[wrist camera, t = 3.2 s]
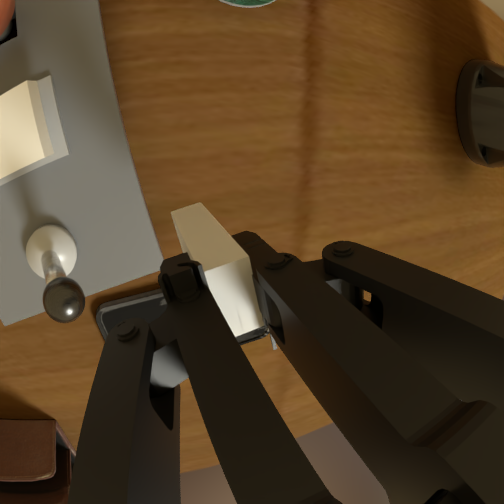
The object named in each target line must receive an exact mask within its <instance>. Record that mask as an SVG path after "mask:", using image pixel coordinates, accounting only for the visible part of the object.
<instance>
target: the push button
mask: <svg viewBox="0 0 504 504" xmlns="http://www.w3.org/2000/svg"><path fill="white" fill-rule="evenodd" d="M14 9H15V0H0V42H2V41H4V40H5V39H6V38H7V37H8V36H9V34H10V32H11V30H12V27H13V23H12V20H11V19H12V16H13V13H14Z"/></svg>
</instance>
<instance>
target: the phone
mask: <svg viewBox="0 0 504 504" xmlns="http://www.w3.org/2000/svg"><path fill="white" fill-rule="evenodd" d="M166 309H167V302H166V300H165V297H164V295H163V292H162V290H161V288H160V289H157V290H153V291H149V292H145V293H141V294H137V295H133V296H129V297H125V298H122V299H118V300H114V301H110V302H106V303H103V304H101V305H100V306H99V307H98V309H97V312H96V321H97V324H98V326H99V329H100V331H101V333H102V335H103V338H104V340H105V341H106V338H107V336H108V334H109V332H110V330H111V329H112V328H113V327H114V326H115V325H117V324H118V323H120V322H122V321H124V320H127V319H130V318H141V319H145V320H146V321H147V322H148V324H149V323H150V322H152V321H154V320H155V319H157V318H158V317H160V316H161V315H162V314H163V313H164V312H165V310H166ZM262 318H263V322H264V326H262V327H259V328H257V329H254V330H252V331H249V332H247V333H244V334H242V335H239V336H237V337H236V339H237V341H238V343H239V345H243V344H246V343H249V342H252V341H255V340H258V339H261V338H263V337H265V336H266V335H268V334H269V328H268V323H267V320H266V319H265V318H264V316H263V315H262Z"/></svg>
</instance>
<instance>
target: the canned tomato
mask: <svg viewBox="0 0 504 504" xmlns="http://www.w3.org/2000/svg"><path fill="white" fill-rule="evenodd" d="M219 1H221V2H223V3H226V4H229V5H232V6H237V7H247V8H252V7H260V6H264V5H267V4H270V3H272V2H273V1H275V0H219Z"/></svg>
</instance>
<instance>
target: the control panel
mask: <svg viewBox="0 0 504 504" xmlns="http://www.w3.org/2000/svg"><path fill="white" fill-rule="evenodd" d="M14 19H16V24H17V35H18V36H17V37H15V38H13V39H11V40H9V41H7V42H5V43H3V44H1V45H0V96H1V95H2V94H4V93H6V92H7V91H9V90H11V89H12V88H14V87H16V86H18V85H19V84H21V83H23V82H25V81H26V80H30V81H37V83H38V89H39V94H40V98H41V103H42V108H43V112H44V116H45V121H46V125H47V129H48V133H49V137H50V140H51V144H52V148H53V151H54V154H52V155H50V156H47V157H45V158H43V159H41V160H38V161H36V162H34V163H32V164H30V165H28V166H25V167H23V168H21V169H19V170H17V171H15V172H13V173H11V174H9V175H7V176H5V177H3V178H1V179H0V319H1V320H2V322H3V324H4V325H5V326H7V325H9V324H12V323H15V322H17V321H20V320H23V319H26V318H28V317H31V316H34V315H36V314H39V313H42V312H45V309H44V306H43V300H42V297H43V292H44V289H45V287H46V281H45V277H44V272H43V268H42V264H41V256H42V254H43V253H44V252H45V251H47V250H53V251H54V252H56V253H57V255H58V257H59V259H60V262H61V264H62V266H63V269H64V271H65V273H66V275H67V277H69V278H71V279H73V280H75V281H76V282H77V283H78V284H79V285H80V286H81V288H82V290H83V292H84V295H85V297H86V296H89V295H92V294H94V293H97V292H100V291H103V290H106V289H108V288H111V287H114V286H117V285H120V284H122V283H125V282H128V281H131V280H134V279H137V278H139V277H142V276H145V275H148V274H151V273H154V272H156V271H159V270H160V266H161V264H162V262H163V260H164V258H163V254H162V251H161V248H160V245H159V242H158V239H157V236H156V233H155V230H154V227H153V224H152V221H151V218H150V215H149V211H148V208H147V205H146V202H145V199H144V195H143V192H142V189H141V185H140V182H139V179H138V175H137V172H136V168H135V165H134V161H133V157H132V154H131V150H130V146H129V143H128V139H127V135H126V131H125V127H124V123H123V119H122V115H121V111H120V107H119V103H118V98H117V94H116V90H115V85H114V81H113V76H112V71H111V66H110V61H109V56H108V51H107V46H106V40H105V35H104V29H103V23H102V17H101V10H100V4H99V0H15V9H14V13H13V16H12V19H11V20H14Z"/></svg>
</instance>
